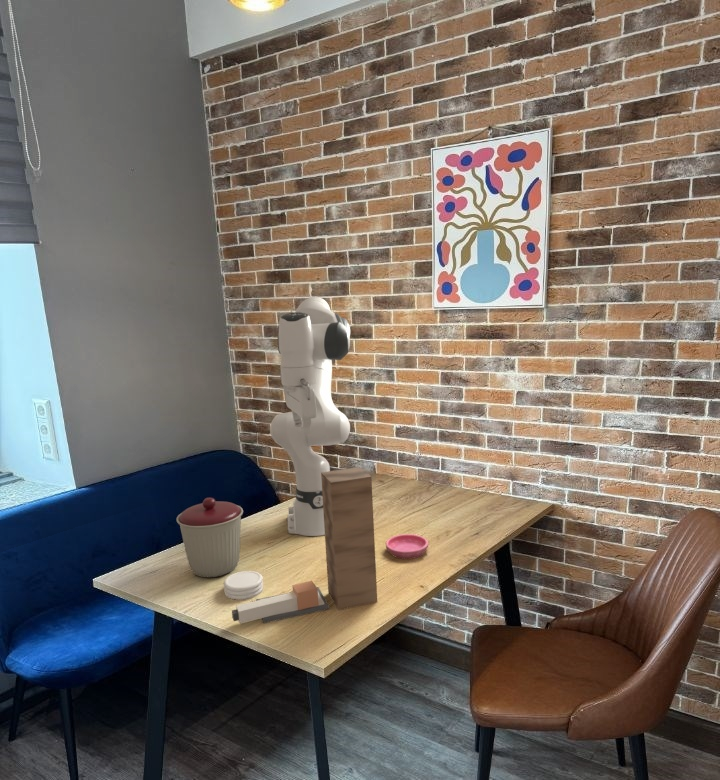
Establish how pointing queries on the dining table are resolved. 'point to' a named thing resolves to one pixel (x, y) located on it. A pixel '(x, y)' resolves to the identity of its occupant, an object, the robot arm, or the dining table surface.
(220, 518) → the canister
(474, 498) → the dining table surface
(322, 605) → the writing board
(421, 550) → the saucer
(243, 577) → the coaster
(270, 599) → the marker
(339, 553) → the walnut stand
